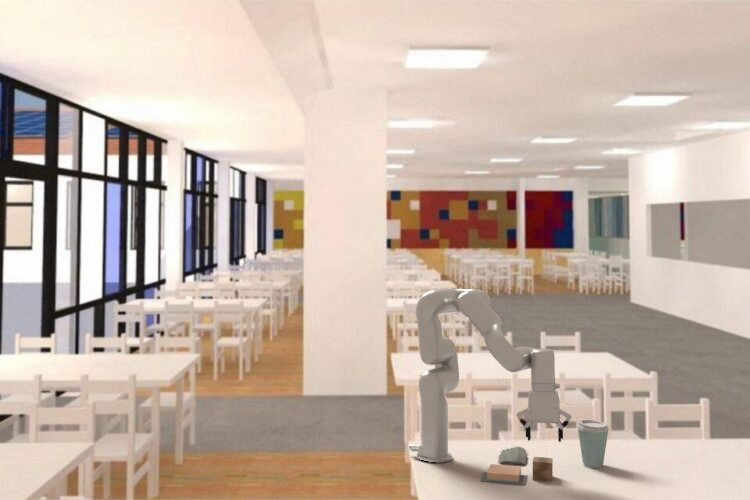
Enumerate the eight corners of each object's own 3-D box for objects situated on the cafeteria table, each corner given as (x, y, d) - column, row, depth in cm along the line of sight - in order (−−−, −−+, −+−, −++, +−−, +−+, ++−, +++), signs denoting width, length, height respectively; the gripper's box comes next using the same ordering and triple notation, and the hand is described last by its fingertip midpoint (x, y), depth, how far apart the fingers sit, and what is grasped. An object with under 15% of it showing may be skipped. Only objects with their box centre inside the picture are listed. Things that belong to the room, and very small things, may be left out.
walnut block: (532, 480, 235) (532, 461, 235) (533, 475, 241) (533, 456, 241) (551, 482, 233) (551, 463, 233) (552, 476, 239) (552, 458, 239)
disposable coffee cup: (610, 463, 254) (610, 420, 254) (606, 471, 244) (606, 426, 244) (579, 459, 258) (579, 417, 258) (574, 467, 248) (574, 423, 248)
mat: (480, 481, 233) (480, 480, 233) (484, 472, 242) (484, 471, 242) (525, 485, 229) (525, 484, 229) (527, 476, 239) (527, 475, 239)
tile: (490, 471, 243) (487, 480, 233) (490, 464, 243) (487, 472, 233) (521, 473, 240) (518, 482, 231) (521, 466, 240) (518, 475, 231)
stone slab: (498, 469, 252) (527, 466, 250) (497, 461, 252) (526, 458, 250) (500, 452, 274) (526, 450, 272) (499, 445, 274) (525, 443, 272)
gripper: (570, 386, 238) (572, 438, 238) (517, 384, 243) (518, 436, 242) (570, 390, 231) (572, 444, 231) (515, 388, 236) (516, 441, 235)
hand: (544, 440), depth 237 cm, fingers open, 9 cm apart
